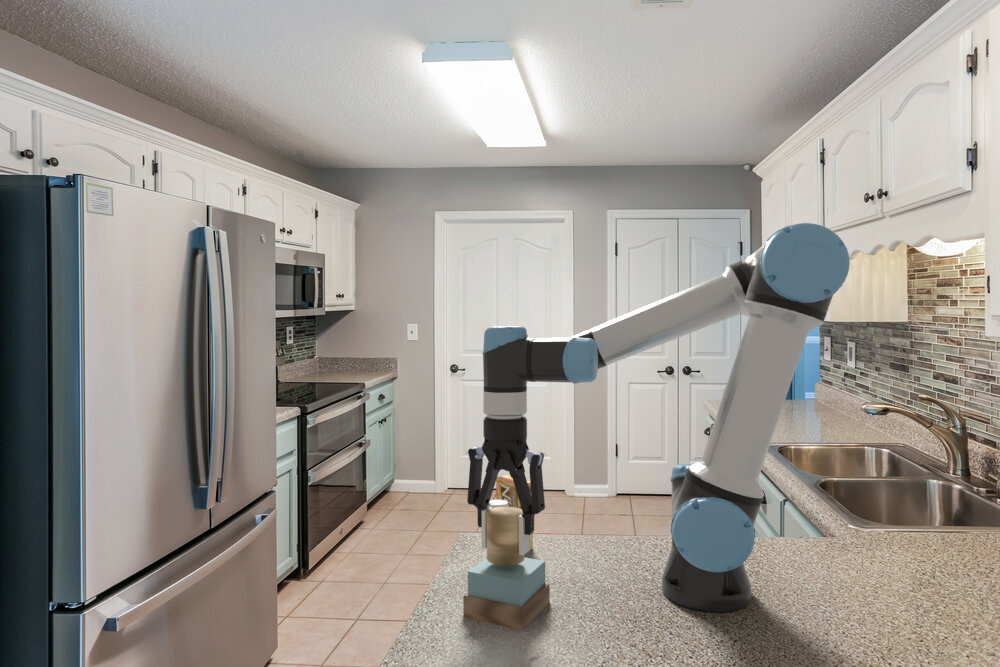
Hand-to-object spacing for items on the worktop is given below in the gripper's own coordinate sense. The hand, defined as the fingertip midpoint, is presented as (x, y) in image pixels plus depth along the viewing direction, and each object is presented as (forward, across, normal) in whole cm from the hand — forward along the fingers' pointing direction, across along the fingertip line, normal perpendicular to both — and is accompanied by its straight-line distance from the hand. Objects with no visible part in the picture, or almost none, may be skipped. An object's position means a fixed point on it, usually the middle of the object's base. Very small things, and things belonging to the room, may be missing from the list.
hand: (505, 549), depth 106 cm
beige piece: (+2, 0, 0) cm, 2 cm away
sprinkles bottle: (+11, +10, -16) cm, 22 cm away
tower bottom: (+11, 0, 0) cm, 11 cm away
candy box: (+11, +12, -28) cm, 32 cm away
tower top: (+7, 0, 0) cm, 7 cm away
